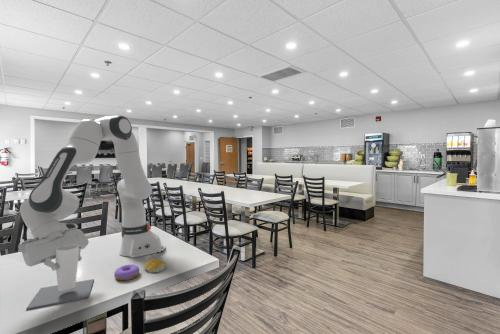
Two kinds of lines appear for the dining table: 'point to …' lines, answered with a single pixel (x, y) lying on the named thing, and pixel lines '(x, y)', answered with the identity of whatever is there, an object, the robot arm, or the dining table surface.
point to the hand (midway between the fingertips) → (68, 264)
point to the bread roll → (155, 265)
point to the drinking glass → (67, 267)
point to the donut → (126, 272)
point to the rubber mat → (61, 295)
